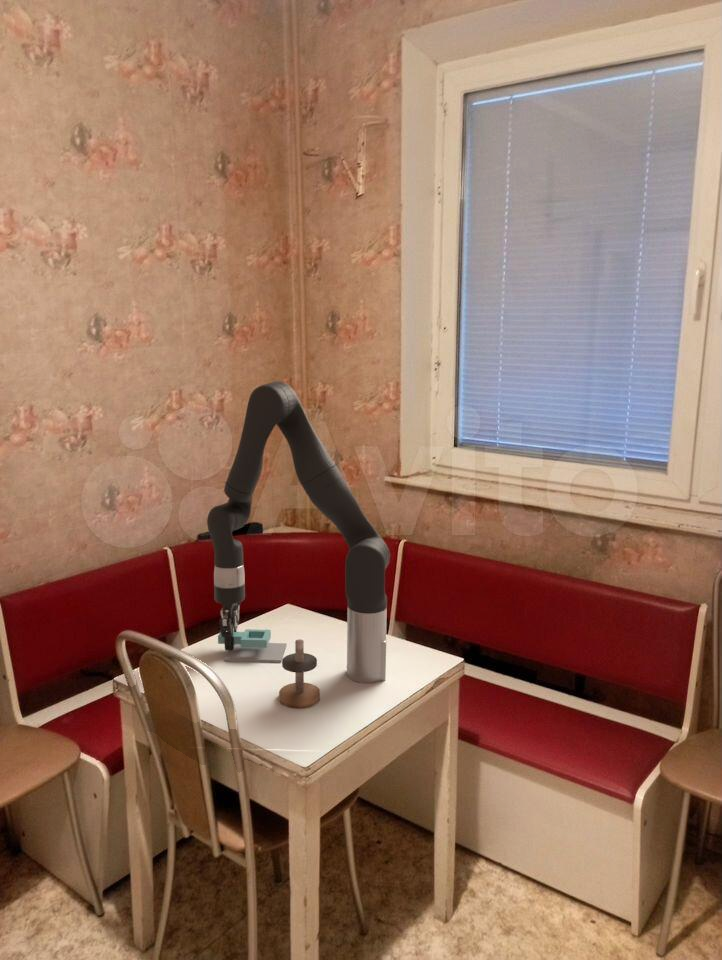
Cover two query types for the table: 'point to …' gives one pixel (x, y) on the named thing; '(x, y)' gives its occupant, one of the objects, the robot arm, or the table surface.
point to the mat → (257, 653)
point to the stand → (299, 679)
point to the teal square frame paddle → (250, 638)
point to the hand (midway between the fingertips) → (230, 646)
